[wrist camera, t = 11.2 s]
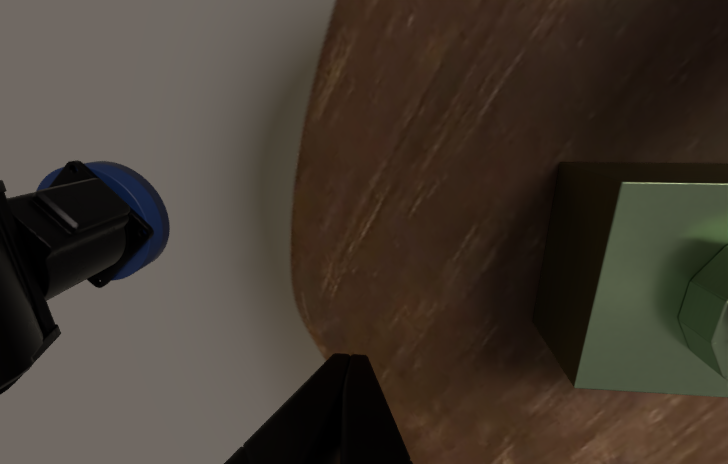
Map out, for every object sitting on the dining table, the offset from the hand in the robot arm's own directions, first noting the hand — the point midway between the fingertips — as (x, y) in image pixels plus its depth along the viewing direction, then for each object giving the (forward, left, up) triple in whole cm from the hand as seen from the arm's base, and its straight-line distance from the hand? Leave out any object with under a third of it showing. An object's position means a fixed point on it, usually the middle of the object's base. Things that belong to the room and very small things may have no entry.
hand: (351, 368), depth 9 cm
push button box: (+10, -11, -13) cm, 20 cm away
